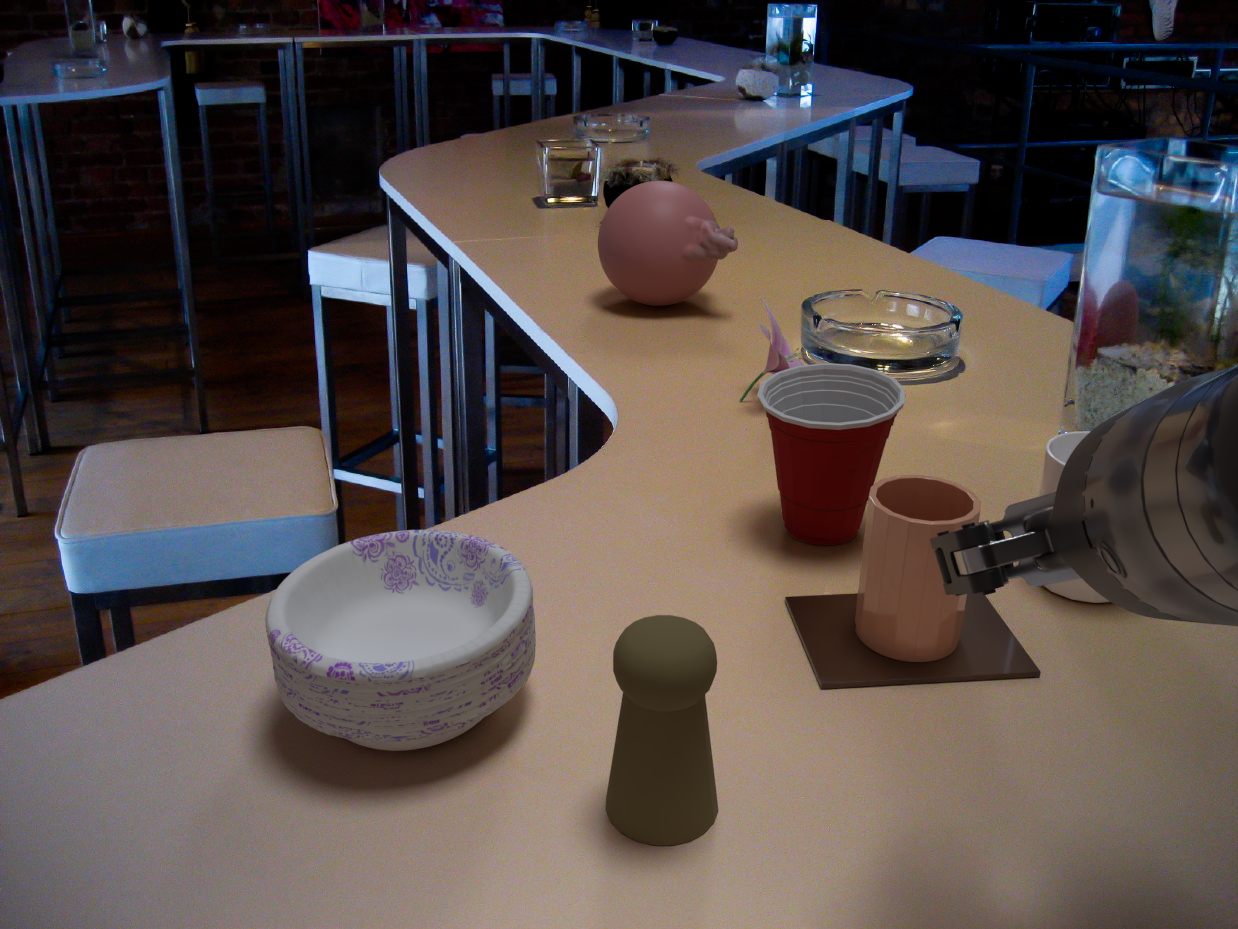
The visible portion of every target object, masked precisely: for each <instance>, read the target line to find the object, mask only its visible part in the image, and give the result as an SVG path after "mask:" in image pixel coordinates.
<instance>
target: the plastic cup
mask: <svg viewBox="0 0 1238 929" xmlns="http://www.w3.org/2000/svg"><path fill="white" fill-rule="evenodd" d="M906 390H907V389H905V388H904V387H903V385H902V384H901V383H900V382H899V381H898V380H897V379H896V378H895V377H892V376H890V375H889V374H886V373H884V372H882V371H879V370H877V369H874V368H869V367H865V366H860V365H855V364H848V363H827V362H826V363H825V362H822V363H814V364H813V363H812V364H804V365H803V366H796V367H793V368H790V369H786V370H783V371H780V372H777V373H775V374H771V375H770V376H769V377H767V378H766V379H765V380H763V381H762V382H761V383H760V385H759V388H758V390H757V391H758V392H757V394H756V396H757V399H758V401H759V403H761V406H762V407H763V409H764V411H765V416H766V419H767V423H768V428H769V430H770V433H771V434H770V436H771V444H772V450H773V460H774V466H775V467H774V468H775V473H776V474H775V475H776V484H777V490H778V491H779V498H780V499H779V500H780V509H781V519H782V521H783V527H784V529H785V530H786V532H787V534H788V535H790V536H791V537H793V538H794V539H796V540H797V541H800V542H803V543H805V544H809V545H815V546H822V547H823V546H825V547H826V546H827V547H828V546H839V545H842V544H845V543H849V542H850V541H852V540H853V539H854V538H855V537H856V536H857V534H858V531H859V530H860V528H861V525H862V521H863V518H864V515H865V510H866V509H867V505H868V497H869V492H870V488H871V486H873V485H874V484H875V482H876V478H877V475H878V470H879V467H880V464H881V461H882V458H883V454H884V451H885V447H886V444H887V440H888V439H889V436H890V433H891V430H892V427H893V426H894V423H895V420H896V417H897V416H898V413H899V412H900V411H901V410H902V409H904V405H905V403H906Z"/></svg>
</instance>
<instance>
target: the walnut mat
mask: <svg viewBox="0 0 1238 929" xmlns="http://www.w3.org/2000/svg"><path fill="white" fill-rule="evenodd" d="M857 597H858V592H856V593H855V592H854V593H835V594H814V595H792V596H791V595H789V596H784V602H785V605H786V608H787V610H788V612H789V614H790V617H791V619H792V621H793V624H794V626H795V629H796V631H797V633H798V636H799V638H800V641H801V643H802V646H803V648H804V651H805V653H806V656H807V658H808V660H809V663H810V665H811V668H812V670H813V673H814V675H815V677H816V680H817V682H818V684H819V688H820V689H821V690H823V689H840V688H841V689H842V688H843V689H844V688H859V687H862V688H863V687H877V686H878V687H880V686H895V685H913V684H914V685H915V684H932V683H949V682H950V683H951V682H952V683H953V682H969V681H987V680H1003V679H1004V680H1005V679H1022V678H1023V679H1025V678H1039V677H1040V676H1041V670H1040V669H1039V667H1038V666H1037V665H1036V663H1035V662H1034V660H1033V658H1031V656H1030V655H1029V653H1028V652H1027V651H1026V649H1025V647H1024V646H1023V645H1022V643H1021V642H1020V641H1019V640H1018V638H1017V637H1016V636H1015V634H1014V633H1013V632H1012V630H1011V628H1010V627H1009V626H1008V625H1007V623H1006V622H1005V621H1004V619H1003V617H1002V616H1001V615H1000V613H999V611H997V610H996V608H995V607H994V606H993V604H992V602H991V601H990V600H989V598H988V597H987V595H982V592H980V593H975V594H967V598H966V604H965V610H964V616H963V622H962V629H961V635H960V639H959V644H958V646H957V648H956V649H955V651H954V652H953V653H951V654H950V655H948V656H947V657H945V658H942V659H939V660H936V661H930V662H907V661H901V660H896V659H892V658H889V657H886V656H883V655H881V654H879V653H877V652H875V651H873V650H872V649H870V648H869V647H867V646H866V645H865V644H864V643H863V642H862V641H861V640H860V639H859V637H858V636H857V633H856V631H855V615H856V606H857Z"/></svg>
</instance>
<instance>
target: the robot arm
mask: <svg viewBox="0 0 1238 929" xmlns="http://www.w3.org/2000/svg"><path fill="white" fill-rule="evenodd" d="M1090 431H1091V432H1090V433H1088V434H1087V435H1086V436H1085V437H1084V438H1083V439H1082V440H1081V442H1080V443H1079V444H1078V445H1077V446H1076V448H1075V449H1074V450H1073V452H1072V453H1071V455H1070V457H1069V458H1068V460H1067V462H1066V464H1065V466H1064V468H1063V471H1062V473H1061V476H1060V479H1059V482H1058V486H1057V490H1056V492H1054V493H1050V494H1047V495H1043V496H1036V497H1033V498H1029V499H1026V500H1023V501H1019V502H1014V503H1012V504H1009V505H1007V507H1006V508H1005V510H1004V515H1003V518H1002V519H1000V520H997V521H993V522H990V520H989V519H987V520H983V521H979V523H977V526H975V522H973V523H969V524H965V525H962V530H958V531H954V532H951V533H949V530H948V531H944V532H940V533H937V535H938V537H935V538H931V539H930V543H931V546H932V549H936V550H934V552H935V555H936V558H937V562H938V565H939V568H940V572H941V575H942V578H943V582H944V583H945V584H943V586H944V589H945V593H946V595H955V596H959V595H963V594H975V593H980V592H982V595H985V596H988V595H992V594H996V593H997V589H1000V588H1002V587H1005V585H1009V583H1010V580H1013V579H1018V578H1021V579H1023V580H1024V581H1025V583H1026V584H1028V585H1029V586H1031V587H1032V588H1033V587H1035V588H1037V587H1042V586H1043V585H1048V584H1053V583H1058V582H1063V581H1069V580H1074V579H1079V578H1082V579H1083V580H1084V581H1085V582H1086V583H1087V584H1088V585H1089V586H1090V587H1091V588H1093V589H1094V590H1095V591H1096V592H1097V593H1099V594H1100V595H1101V596H1103V597H1104V598H1106V599H1107V600H1109V601H1110V602H1109V603H1112V604H1114V605H1115V606H1117V607H1119V608H1121V609H1123V610H1126V611H1128V612H1131V613H1133V614H1136V615H1139V616H1143V617H1146V618H1150V619H1151V618H1152V619H1157V620H1164V621H1165V620H1166V621H1173V622H1174V621H1175V622H1184V623H1185V622H1186V623H1197V624H1208V625H1219V626H1229V627H1238V363H1236V364H1234V365H1232V366H1229V367H1228V368H1224V369H1219V370H1214V371H1210V372H1205V373H1202V374H1199V375H1196V376H1192V377H1190V378H1187V379H1185V380H1182V381H1179V382H1177V383H1176V384H1173V385H1171V386H1169V387H1167V388H1165V389H1163V390H1162V391H1159V392H1158V393H1156V394H1153V395H1152V396H1150V397H1148V398H1146V399H1143V400H1142V401H1140V402H1139V403H1136V404H1134V405H1132V406H1130V407H1128V408H1126V409H1125V410H1123V411H1121V412H1119V413H1116V414H1115V415H1113V416H1110V417H1109V418H1108V419H1106V420H1104V421H1103V422H1101V423H1100V424H1098V425H1097V426H1096V427H1094V428H1093V429H1092V430H1090ZM1049 507H1053V509H1049V510H1046V509H1047V508H1049ZM1045 510H1046V511H1045ZM1004 532H1008V533H1009V534H1010V536H1011V537H1007V538H1006V536H1005V533H1004ZM1017 562H1018V564H1015V563H1017ZM1014 564H1015V565H1014ZM1043 587H1044V586H1043Z"/></svg>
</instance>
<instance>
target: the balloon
mask: <svg viewBox="0 0 1238 929" xmlns="http://www.w3.org/2000/svg"><path fill="white" fill-rule="evenodd" d="M738 247H739V241H738V238H737V237H735V229H734V228H733V227H732V226H725V227H722V228H721V226H720V225H719V224H718V220H717V218H716V216H715V214H714V212H713V210H712V209H711V207H710V205H709V204H708V203H707V201H705V199H703V198H702V197H701V196H700V195H699V194H698V193H697V192H696V191H694V190H692V189H691V188H689V187H687V186H686V185H683V184H680V183H677V182H674V181H668V180H651V181H645V182H642V183H639V184H636V185H634V186H632V187H630V188H628V189H626V190H625V191H624V192H622V193H621V194H620V195H619V196H618V197H616V199H614V200H613V202H612V203H611V204H610V205H609V207H608V208H607V210H606V212H605V213H604V215H603V218H602V220H601V222H600V226H599V229H598V234H597V252H598V253H597V254H598V257H599V258H598V259H599V262H600V265H601V267H602V270H603V272H604V274H605V276H606V277H607V279H608V280H609V282H610V283H611V284H612V285H613V287H614V288H615V289H616V290H617V291H618V292H620V294H622V295H623V296H625V297H627V298H628V299H630V300H631V301H634V302H636V303H639V304H642V305H647V306H651V307H664V306H670V305H671V306H672V305H675V304H679V303H681V302H684V301H686V300H688V299H689V298H691V297H692V296H694V295H696V294H697V293H698V292H699V291H701V289H703V287H704V286H706V284H707V283H708V282H709V280H710V279H711V277H712V275H713V274H714V272H715V270H716V266H717V265H718V263H719V260H724V259H726V258H727V257H728V255H729V253H732V252H733V253H734V252H736V251H737V250H738Z"/></svg>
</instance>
